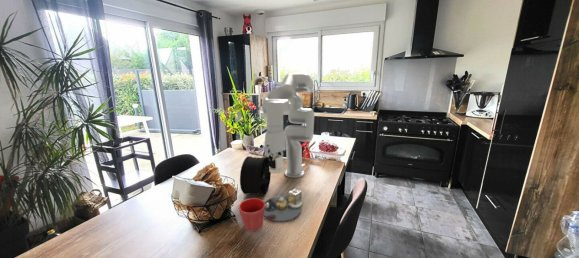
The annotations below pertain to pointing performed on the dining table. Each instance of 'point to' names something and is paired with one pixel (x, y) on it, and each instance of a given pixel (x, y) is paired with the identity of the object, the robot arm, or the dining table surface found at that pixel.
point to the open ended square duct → (277, 164)
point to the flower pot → (252, 213)
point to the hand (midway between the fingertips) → (276, 165)
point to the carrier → (284, 207)
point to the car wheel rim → (255, 175)
